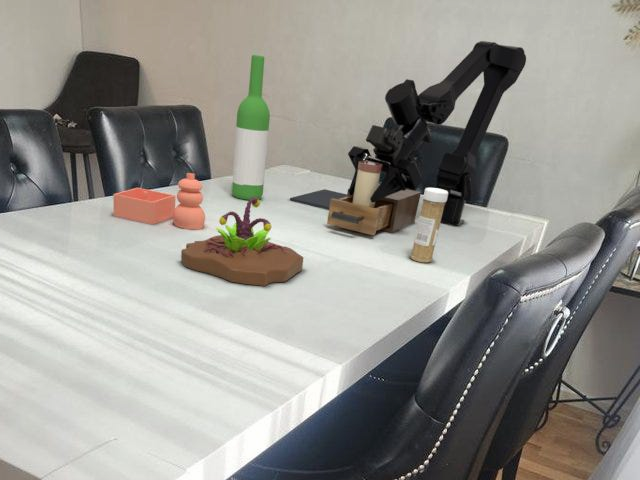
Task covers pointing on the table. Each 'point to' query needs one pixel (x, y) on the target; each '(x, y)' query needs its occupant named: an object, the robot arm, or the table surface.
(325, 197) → the mat
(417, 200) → the cabinet
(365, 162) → the spice shaker
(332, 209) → the drawer
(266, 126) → the wine bottle
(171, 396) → the table surface
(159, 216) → the pottery
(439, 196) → the spice jar
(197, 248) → the plant
